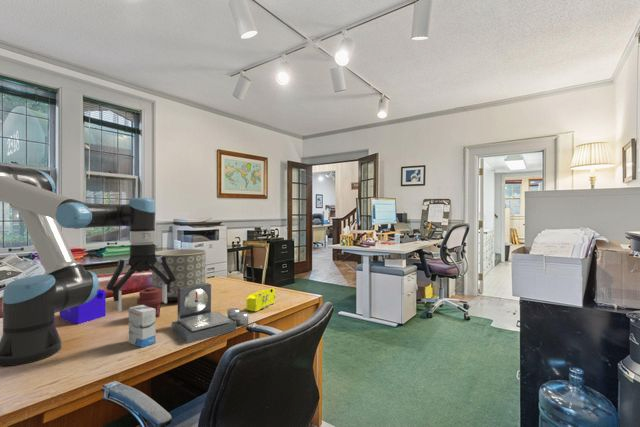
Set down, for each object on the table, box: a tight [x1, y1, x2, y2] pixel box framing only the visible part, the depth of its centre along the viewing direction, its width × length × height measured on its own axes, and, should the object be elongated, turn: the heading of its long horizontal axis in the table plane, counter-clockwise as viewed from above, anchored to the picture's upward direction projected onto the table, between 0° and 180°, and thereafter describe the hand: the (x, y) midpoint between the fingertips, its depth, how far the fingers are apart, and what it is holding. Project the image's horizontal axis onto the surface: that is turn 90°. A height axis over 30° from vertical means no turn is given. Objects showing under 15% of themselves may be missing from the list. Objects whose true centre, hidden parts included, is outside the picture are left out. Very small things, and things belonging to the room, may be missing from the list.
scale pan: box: [179, 310, 230, 331], centre depth 116 cm, size 14×13×1 cm
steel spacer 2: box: [235, 311, 249, 327], centre depth 124 cm, size 5×5×4 cm
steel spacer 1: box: [226, 307, 241, 321], centre depth 129 cm, size 5×5×4 cm
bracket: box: [59, 288, 107, 325], centre depth 130 cm, size 18×11×12 cm, turn 71°
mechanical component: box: [136, 286, 163, 319], centre depth 130 cm, size 12×10×10 cm
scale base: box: [171, 282, 237, 344], centre depth 117 cm, size 18×19×15 cm
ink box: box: [128, 305, 156, 348], centre depth 105 cm, size 8×5×12 cm, turn 58°
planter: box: [151, 248, 207, 302], centre depth 160 cm, size 25×25×24 cm
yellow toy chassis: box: [246, 287, 276, 312], centre depth 146 cm, size 16×6×8 cm, turn 156°
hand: (143, 306), depth 105 cm, fingers open, 13 cm apart
